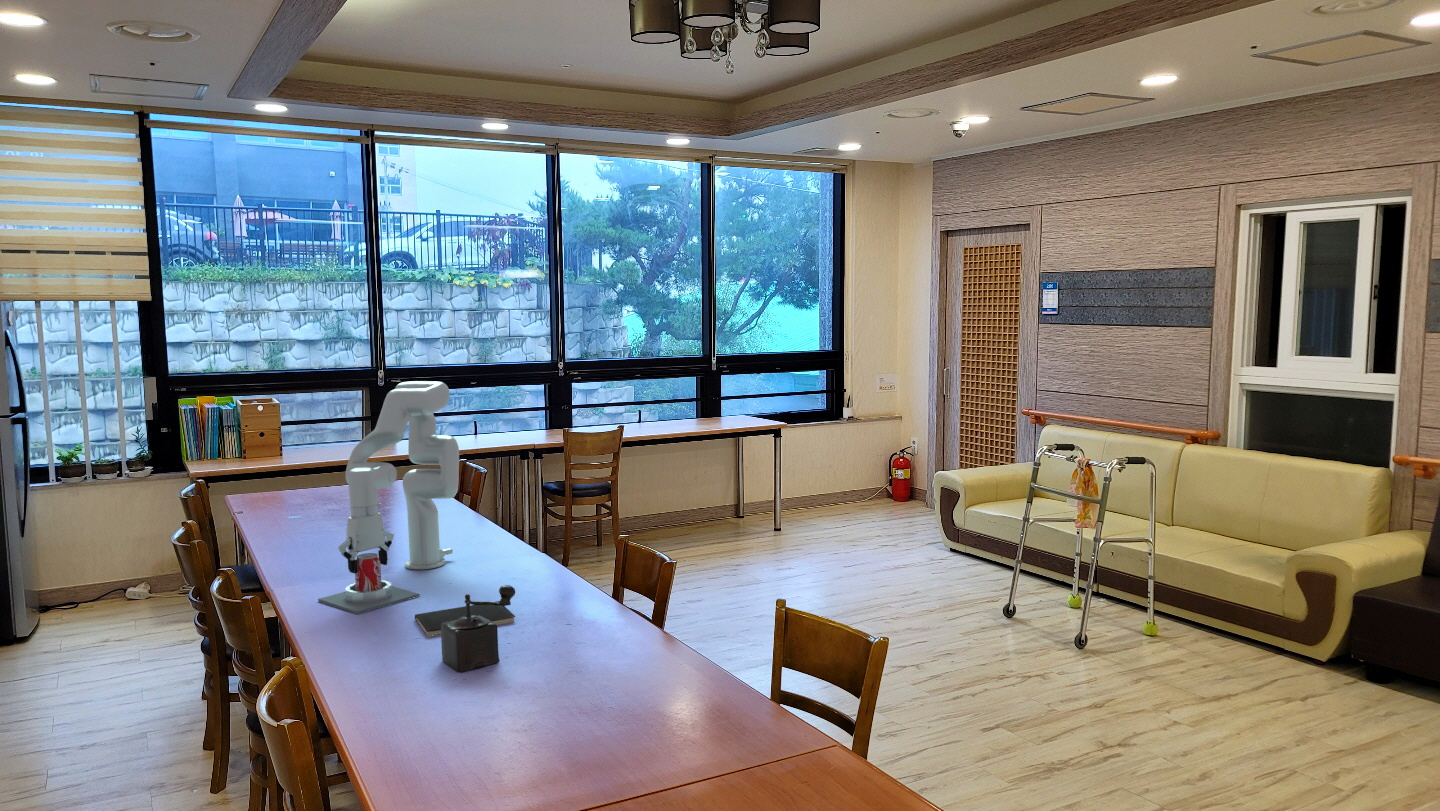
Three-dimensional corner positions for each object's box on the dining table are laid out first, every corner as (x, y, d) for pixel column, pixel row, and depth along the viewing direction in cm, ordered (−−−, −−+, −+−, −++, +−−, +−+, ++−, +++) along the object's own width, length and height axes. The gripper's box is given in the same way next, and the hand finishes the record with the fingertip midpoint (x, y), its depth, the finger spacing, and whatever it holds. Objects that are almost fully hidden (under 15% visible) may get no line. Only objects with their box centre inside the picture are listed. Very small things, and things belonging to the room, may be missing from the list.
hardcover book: (515, 624, 266) (515, 616, 266) (427, 639, 255) (427, 630, 255) (498, 608, 280) (498, 600, 280) (415, 622, 269) (414, 613, 269)
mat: (379, 585, 303) (379, 582, 303) (419, 596, 291) (419, 593, 290) (318, 601, 287) (318, 598, 287) (357, 614, 275) (357, 611, 275)
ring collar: (375, 587, 298) (375, 577, 297) (400, 594, 290) (399, 584, 290) (337, 597, 288) (336, 587, 288) (361, 605, 280) (361, 595, 280)
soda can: (373, 600, 285) (371, 559, 284) (351, 599, 286) (349, 558, 285) (386, 593, 292) (384, 553, 290) (364, 591, 293) (362, 552, 292)
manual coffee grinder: (459, 674, 230) (456, 598, 228) (440, 661, 239) (437, 587, 237) (521, 658, 239) (518, 585, 237) (500, 646, 248) (497, 575, 246)
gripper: (383, 503, 295) (387, 559, 298) (329, 515, 282) (333, 573, 284) (398, 506, 291) (402, 563, 293) (344, 518, 277) (348, 578, 280)
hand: (368, 568), depth 289 cm, fingers open, 9 cm apart
